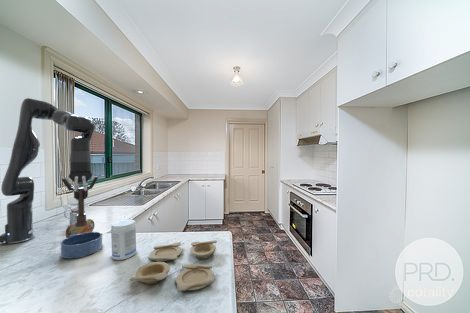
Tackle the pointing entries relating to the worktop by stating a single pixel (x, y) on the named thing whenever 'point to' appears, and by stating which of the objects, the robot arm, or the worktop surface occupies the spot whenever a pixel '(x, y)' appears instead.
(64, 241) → the bowl
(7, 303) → the worktop surface
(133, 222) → the supplement tub
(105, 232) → the worktop surface
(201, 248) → the tableware set
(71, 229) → the tin
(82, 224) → the muddler
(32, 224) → the robot arm
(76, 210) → the french press
